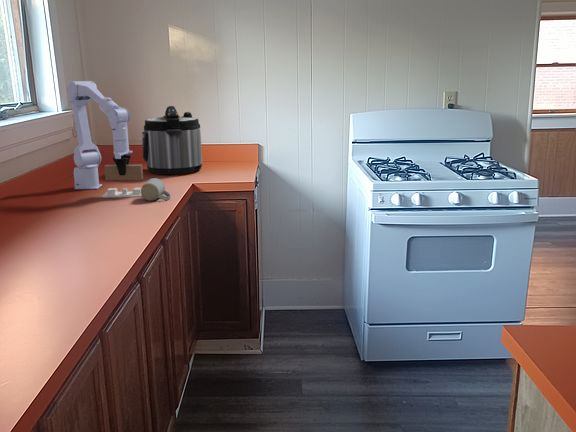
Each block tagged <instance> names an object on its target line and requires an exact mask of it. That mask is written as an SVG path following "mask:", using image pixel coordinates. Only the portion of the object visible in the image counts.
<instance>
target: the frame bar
mask: <svg viewBox="0 0 576 432" xmlns="http://www.w3.org/2000/svg"><path fill="white" fill-rule="evenodd" d="M103 168H104V177H105V178H104V179H105V181H126V180H127V181H128V180H133V181H134V180H135V181H137V180H139V181H141V180H143V179H144V172H143V171H144V169H143V164H129V165H126V174H125V175H119V172H118V169H117V166H116V164H105V165H104V167H103Z"/></svg>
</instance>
